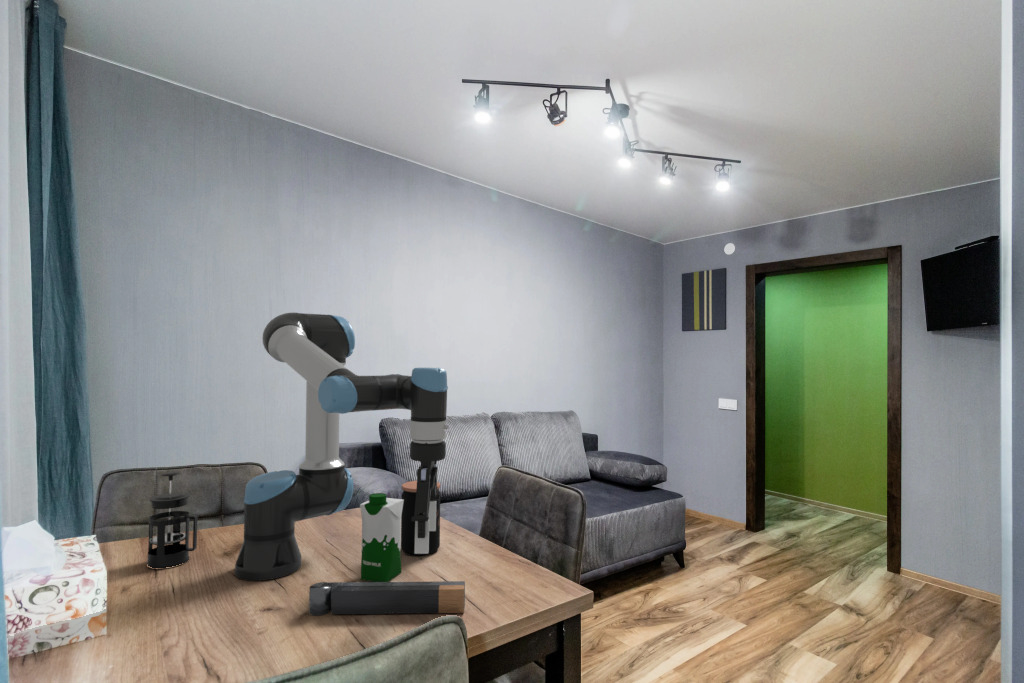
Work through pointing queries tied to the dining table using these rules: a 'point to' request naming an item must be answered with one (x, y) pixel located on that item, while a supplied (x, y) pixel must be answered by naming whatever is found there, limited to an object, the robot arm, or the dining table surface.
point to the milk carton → (381, 538)
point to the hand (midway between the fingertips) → (425, 541)
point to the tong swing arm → (398, 599)
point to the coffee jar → (409, 525)
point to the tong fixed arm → (323, 591)
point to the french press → (175, 550)
